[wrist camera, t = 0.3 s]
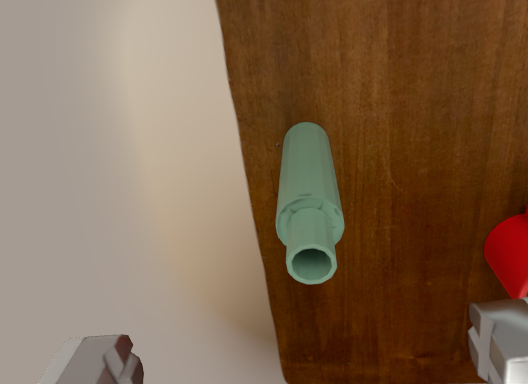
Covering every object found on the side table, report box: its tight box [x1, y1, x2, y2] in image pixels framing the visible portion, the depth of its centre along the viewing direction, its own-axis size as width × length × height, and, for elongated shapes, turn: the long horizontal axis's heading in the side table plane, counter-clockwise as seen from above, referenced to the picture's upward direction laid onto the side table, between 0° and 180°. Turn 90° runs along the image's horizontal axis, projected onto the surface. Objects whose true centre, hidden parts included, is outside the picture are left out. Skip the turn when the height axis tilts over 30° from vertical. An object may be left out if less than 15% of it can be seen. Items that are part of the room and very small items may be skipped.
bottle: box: [276, 122, 344, 284], centre depth 31 cm, size 4×4×19 cm
